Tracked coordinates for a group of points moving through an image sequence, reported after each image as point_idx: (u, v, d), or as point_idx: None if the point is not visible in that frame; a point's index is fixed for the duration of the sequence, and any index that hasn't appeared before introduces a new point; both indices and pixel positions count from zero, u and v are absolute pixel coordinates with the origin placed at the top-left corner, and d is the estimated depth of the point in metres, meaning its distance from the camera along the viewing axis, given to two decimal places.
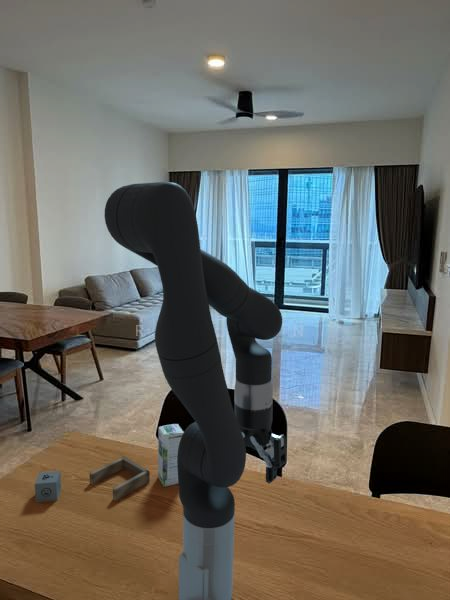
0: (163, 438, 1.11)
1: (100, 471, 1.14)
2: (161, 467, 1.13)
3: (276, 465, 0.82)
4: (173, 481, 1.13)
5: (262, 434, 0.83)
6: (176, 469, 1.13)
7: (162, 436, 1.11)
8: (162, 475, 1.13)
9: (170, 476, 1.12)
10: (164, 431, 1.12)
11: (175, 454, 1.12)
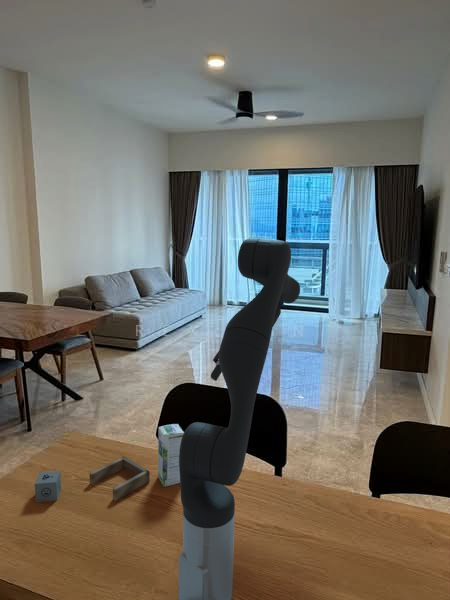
0: (163, 438, 1.11)
1: (100, 471, 1.14)
2: (161, 467, 1.13)
3: None
4: (173, 481, 1.13)
5: None
6: (176, 469, 1.13)
7: (162, 436, 1.11)
8: (162, 475, 1.13)
9: (170, 476, 1.12)
10: (164, 431, 1.12)
11: (175, 454, 1.12)
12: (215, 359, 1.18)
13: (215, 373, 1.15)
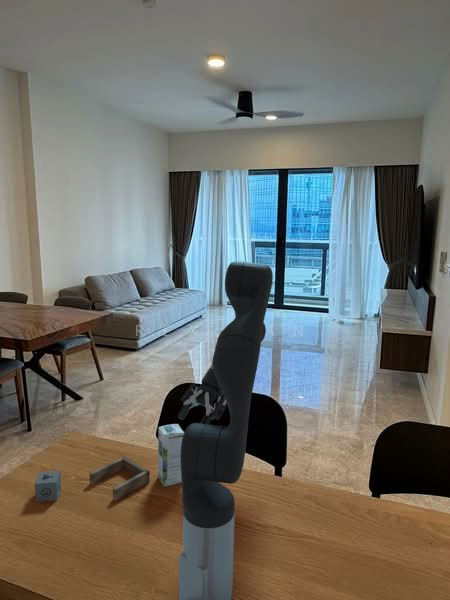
0: (163, 438, 1.11)
1: (100, 471, 1.14)
2: (161, 467, 1.13)
3: (213, 413, 1.15)
4: (173, 481, 1.13)
5: (215, 393, 1.19)
6: (176, 469, 1.13)
7: (162, 436, 1.11)
8: (162, 475, 1.13)
9: (170, 476, 1.12)
10: (164, 431, 1.12)
11: (174, 454, 1.12)
12: (183, 399, 1.24)
13: (182, 413, 1.21)
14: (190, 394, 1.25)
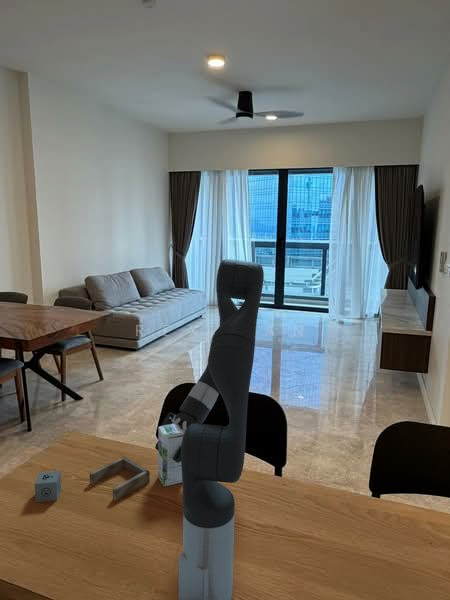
0: (163, 438, 1.11)
1: (100, 471, 1.14)
2: (161, 467, 1.13)
3: None
4: (173, 481, 1.13)
5: (193, 422, 1.15)
6: (176, 469, 1.13)
7: (162, 436, 1.11)
8: (162, 475, 1.13)
9: (170, 476, 1.12)
10: (164, 431, 1.12)
11: (174, 454, 1.12)
12: None
13: None
14: (168, 423, 1.20)
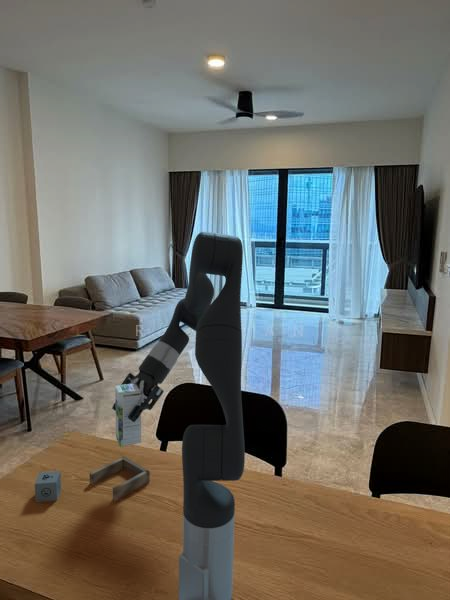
0: (118, 396, 1.08)
1: (100, 471, 1.14)
2: (117, 427, 1.10)
3: (144, 402, 1.07)
4: (130, 441, 1.10)
5: (150, 381, 1.11)
6: (132, 429, 1.10)
7: (117, 394, 1.08)
8: (118, 435, 1.09)
9: (126, 436, 1.09)
10: (120, 389, 1.09)
11: None
12: None
13: None
14: None
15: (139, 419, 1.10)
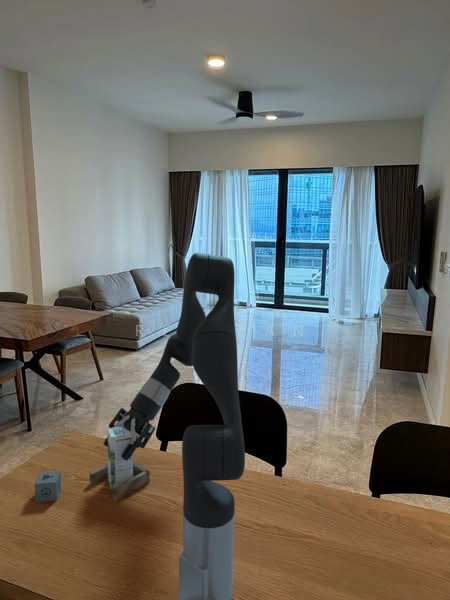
0: (110, 440, 1.09)
1: (100, 471, 1.14)
2: (109, 470, 1.11)
3: (137, 441, 1.08)
4: None
5: (141, 419, 1.13)
6: (125, 472, 1.11)
7: (110, 439, 1.10)
8: (110, 478, 1.11)
9: (118, 479, 1.10)
10: (112, 434, 1.10)
11: None
12: (110, 425, 1.17)
13: None
14: (119, 419, 1.18)
15: (131, 462, 1.11)
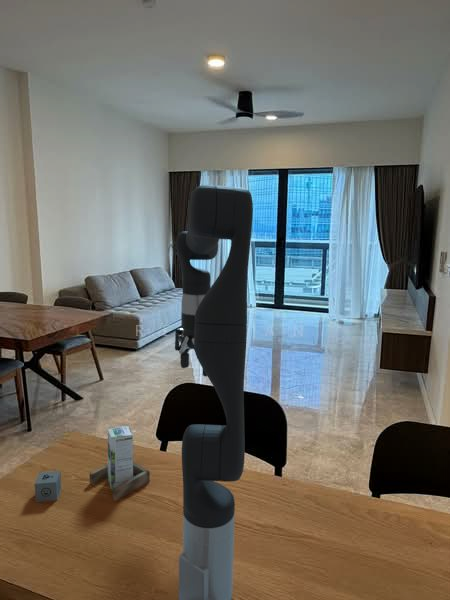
0: (110, 440, 1.09)
1: (100, 471, 1.14)
2: (109, 470, 1.11)
3: None
4: None
5: None
6: (125, 472, 1.11)
7: (110, 439, 1.10)
8: (110, 478, 1.11)
9: (118, 479, 1.11)
10: (112, 434, 1.10)
11: (123, 457, 1.10)
12: (176, 348, 1.15)
13: (183, 362, 1.14)
14: (180, 339, 1.15)
15: (131, 462, 1.11)
